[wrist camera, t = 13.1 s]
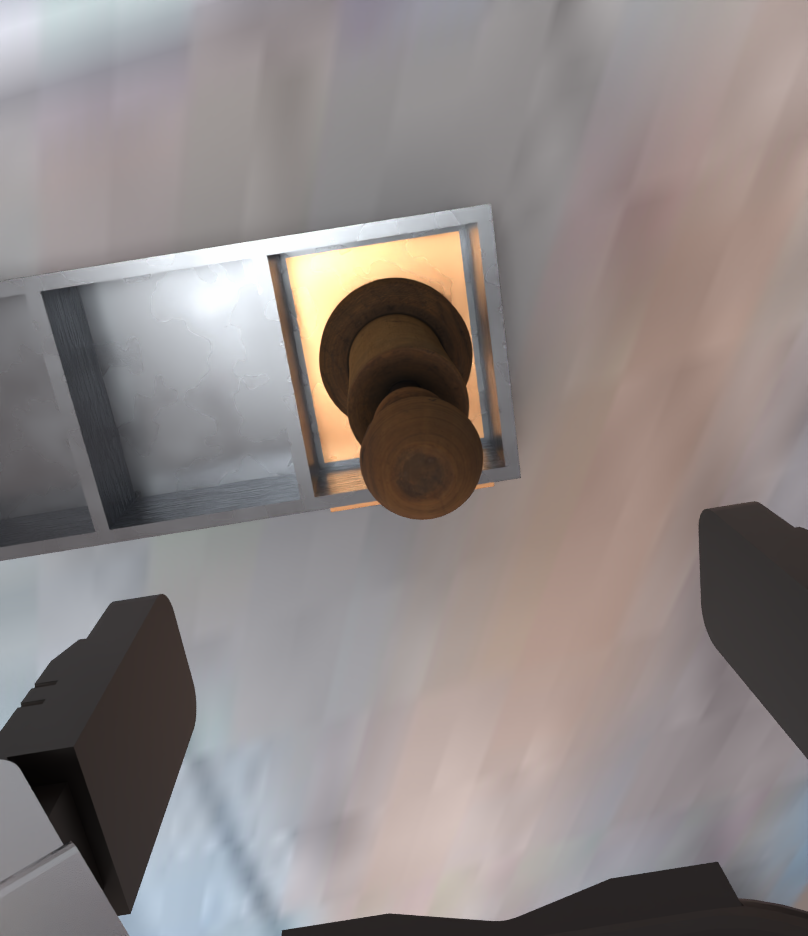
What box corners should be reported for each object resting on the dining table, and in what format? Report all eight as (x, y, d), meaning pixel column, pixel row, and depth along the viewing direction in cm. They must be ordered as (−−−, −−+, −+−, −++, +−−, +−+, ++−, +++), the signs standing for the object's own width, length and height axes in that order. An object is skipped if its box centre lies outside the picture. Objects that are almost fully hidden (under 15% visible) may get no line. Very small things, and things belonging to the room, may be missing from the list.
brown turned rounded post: (372, 447, 36) (381, 651, 19) (291, 331, 34) (220, 440, 17) (493, 370, 35) (618, 508, 18) (416, 247, 33) (474, 270, 16)
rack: (473, 206, 34) (490, 203, 29) (501, 453, 38) (521, 486, 33) (-129, 301, 34) (-209, 314, 29) (-44, 540, 37) (-102, 586, 33)
